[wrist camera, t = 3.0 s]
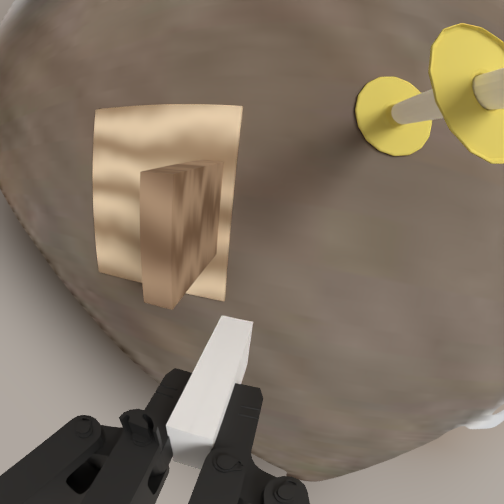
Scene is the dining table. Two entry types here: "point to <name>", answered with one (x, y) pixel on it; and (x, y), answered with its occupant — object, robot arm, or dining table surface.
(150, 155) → the light wooden board
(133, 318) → the dining table surface
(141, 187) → the panel
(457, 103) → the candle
